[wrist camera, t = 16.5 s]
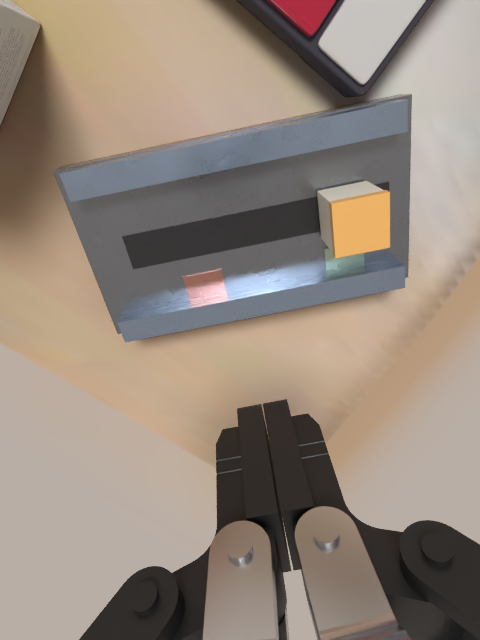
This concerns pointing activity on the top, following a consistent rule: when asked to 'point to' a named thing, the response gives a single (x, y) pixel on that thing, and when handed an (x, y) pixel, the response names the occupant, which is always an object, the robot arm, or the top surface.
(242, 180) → the panel
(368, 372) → the top surface
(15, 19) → the small box
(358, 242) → the breaker toggle
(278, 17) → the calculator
